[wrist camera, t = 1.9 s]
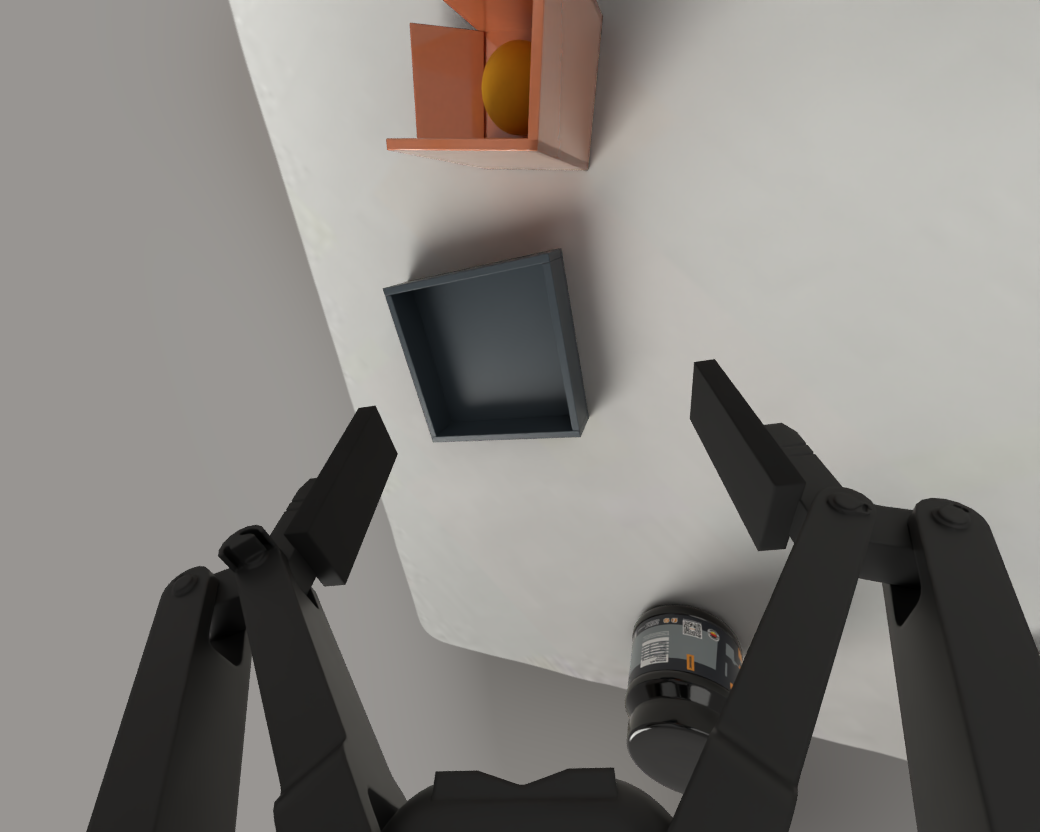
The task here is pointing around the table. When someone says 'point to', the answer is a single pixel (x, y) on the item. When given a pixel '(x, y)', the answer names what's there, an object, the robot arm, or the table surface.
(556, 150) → the orange open box
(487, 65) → the ball
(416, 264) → the table surface
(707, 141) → the table surface
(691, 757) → the supplement container
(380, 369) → the table surface
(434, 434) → the tray
